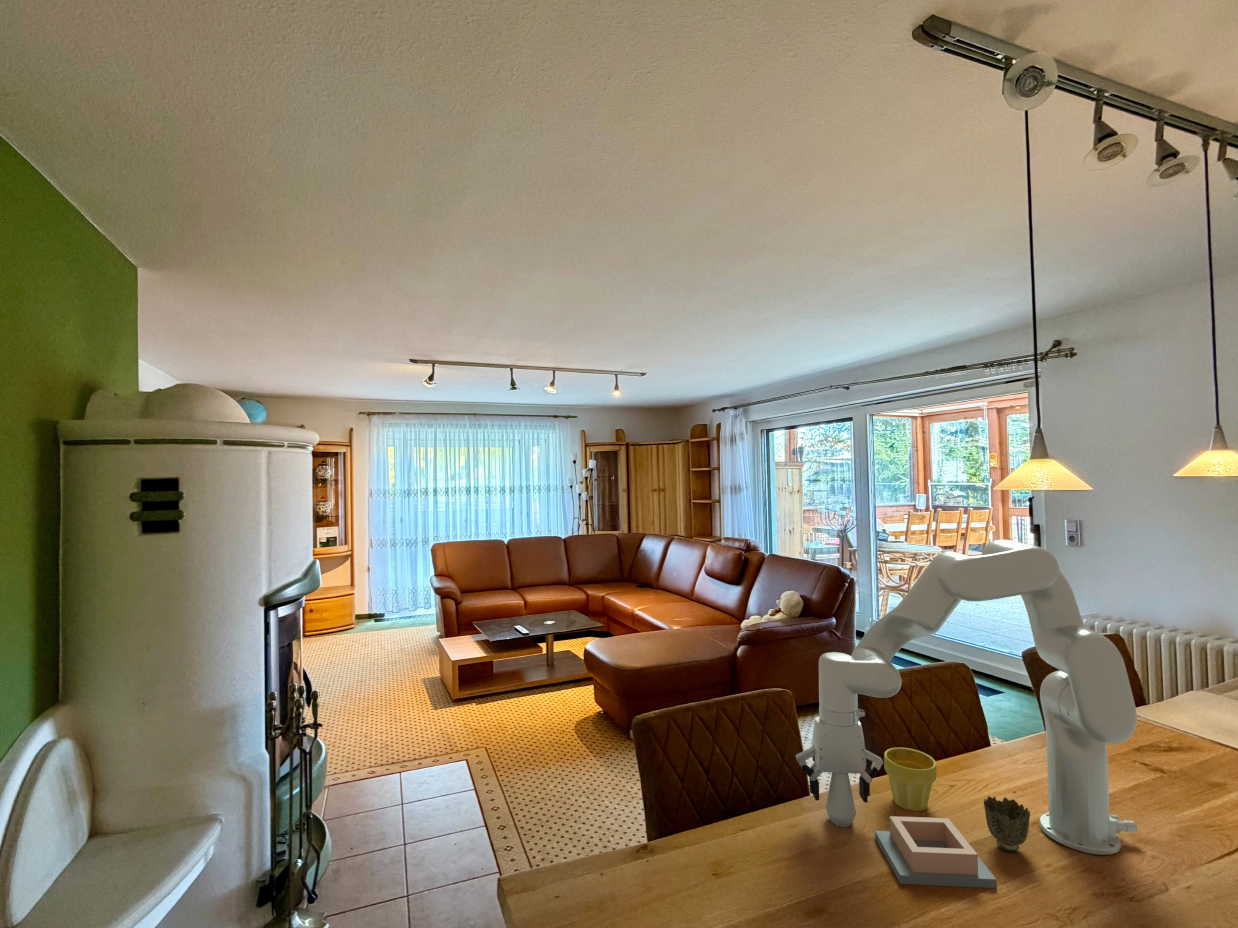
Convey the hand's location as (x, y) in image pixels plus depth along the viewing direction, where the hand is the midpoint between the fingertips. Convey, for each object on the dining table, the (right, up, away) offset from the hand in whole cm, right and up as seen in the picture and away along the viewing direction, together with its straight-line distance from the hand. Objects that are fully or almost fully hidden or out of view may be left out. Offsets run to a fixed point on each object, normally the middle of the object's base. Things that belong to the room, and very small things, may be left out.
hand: (839, 797), depth 122 cm
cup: (+28, -4, -10) cm, 30 cm away
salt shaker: (0, -5, 0) cm, 5 cm away
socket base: (+12, -4, -13) cm, 18 cm away
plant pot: (+18, -5, +6) cm, 20 cm away
